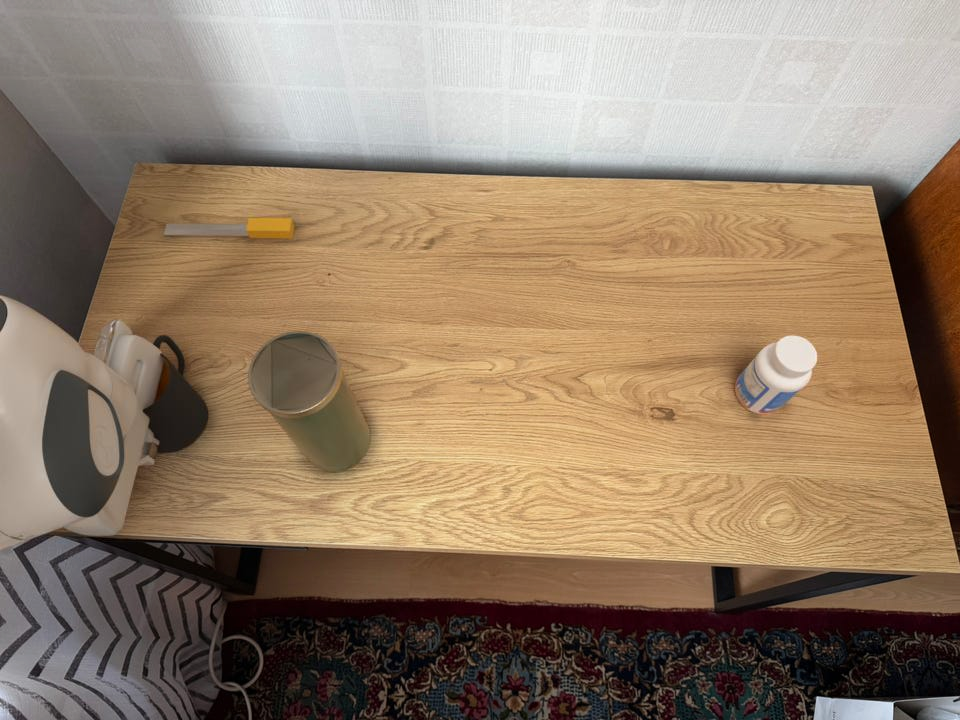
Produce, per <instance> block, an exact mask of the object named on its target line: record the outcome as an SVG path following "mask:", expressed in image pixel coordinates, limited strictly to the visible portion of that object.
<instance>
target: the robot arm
mask: <svg viewBox="0 0 960 720" xmlns="http://www.w3.org/2000/svg"><path fill="white" fill-rule="evenodd" d="M98 337H99V339H98V340H97V342H96V345H95V347H94V351H93V354H92V353H90V352H87V351H84V350H83V348H82V347H81V345H80V344H79V343H78V341H77V340H75V338H74V337H73V336H72V335H70V334H69V333H68V332H66V331H65V330H64V329H63V328H61V327H59V325H57V324H55V323H54V322H53V321H52V320H50V319H48V318H47V316H44V315H43V314H41V313H40V312H38V311H36V310H35V309H33V308H31V307H30V306H28V305H26V304H24V303H22V302H20V301H18V300H17V299H14V298H11V297H9V296H5V295H2V294H0V551H3V550H5V549H8V548H10V547H13V546H15V545H18V544H21V543H24V542H27V541H30V540H32V539H35V538H37V537H41V536H43V535H46V534H48V533H51V532H55V531H57V530H60V529H62V528H64V529H66V530H68V531H70V532H72V533H75V534H78V535H82V536H90V537H112V536H115V535H117V534H118V533H119V532H120V531H121V530H122V529H123V527H124V524H125V520H126V516H127V512H128V508H129V505H130V500H131V495H132V492H133V488H134V484H135V480H136V476H137V473H138V468H139V467H140V466H154V465H155V461H156V458H157V453H158V452H157V449H158V445H159V440H157V439H156V438H154V435H153V432H152V431H151V430H150V429H149V428H148V425H149V421H150V419H149V417H148V416H147V415H146V414H144V413H143V409H145V408H147V407H149V406H151V405H152V404H154V401H155V397H156V393H157V389H158V385H159V381H160V377H161V373H162V369H163V366H164V359H163V358H162V357H161V355H160V353H162V354H163V352H162V350H161V349H160V350H159V349H158V348H157V347H156V346H154V345H153V344H154V343H152V342H150V341H149V340H147V339H145V337H142V336H140V335H136V334H133V331H132V329H131V327H129V326H128V325H127V324H126V323H125V322H124V321H122V320H120V319H112V320H110V321H109V322H108V323H107V325H103V327H102V328H101V331H100V333H99V336H98Z"/></svg>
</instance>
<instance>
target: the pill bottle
mask: <svg viewBox="0 0 960 720" xmlns="http://www.w3.org/2000/svg"><path fill="white" fill-rule="evenodd" d="M817 362H818V353H817V350H816V348H815V346H814V345H813V344H812V342H811V341H809V340H808V339H806V338H804V337H803V336H799V335H786V336H783V337H781V338H780V339H779V340H778V341H777V342H772V343H769V344H767V345H766V346H764V347H763V348H762V349H761V350H760V351H759V352H758V353H757V355H755V357H753V359H752V361H750V363H749V364H747V366H746V368H745V369H744V370H743V371H742V372H741V373H740V374H739V375H738V377H737V379H736V381H735V386H734V392H735V396H736V398H737V400H738V401H739V403H740V404H741V406H743V407H744V408H745V409H747V410H748V411H750V412H752V413H754V414H757V415H769V414H772V413H775V412H777V411H778V410H780V409H781V408H782V407H783V406H785V404H787V403H788V402H789V401H790V400H791V399H792V398H793V397H794V396H796V395H797V393H799V392H800V391H802V389H803V388H805V386H807V384H808V383H809V382H810V380H811V378H812V375H813V369H814V367H815V366H816V365H817Z"/></svg>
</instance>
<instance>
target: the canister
mask: <svg viewBox="0 0 960 720" xmlns="http://www.w3.org/2000/svg"><path fill="white" fill-rule="evenodd" d="M249 364H250V365H249V368H248V372H247V382H248V383H247V384H248V389H249V390H250V393H251V395H252V396H253V399H255V401H256V402H257V403H258V404H259V405H260V407H261V408H263V409H264V410H265V411H266V412H268V413H269V414H270V415H271V416H272V418H273V419H274V420H275V421H276V422H277V424H278V425H279V426H280V427H281V428H282V430H283V431H284V432H285V433H286V434H287V435H288V438H290V439H291V440H292V441H293V443H294V444H295V445H296V446H297V448H298V449H299V450H300V451H301V452H302V454H303V455H304V457H306V459H307V460H308V461H309V462H310V463H311V464H312V465H313V466H314V467H316V468H317V469H319V470H321V471H324V472H328V473H340V472H344V471H347V470H350V469H352V468H354V467H355V466H357V465H358V464H360V462H361V461H362V460H363V459H364V458H365V456H366V455H367V454H368V451H369V449H370V445H371V436H372V435H371V429H370V426H369V424H368V423H367V421H366V418H365V416H364V413H363V411H362V409H361V408H360V405H359V403H358V400H357V398H356V396H355V394H354V391H353V389H352V387H351V386H350V385H351V384H350V383H349V382H348V381H349V380H348V379H347V376H346V375H345V372H344V370H343V365H342V361H341V359H340V356H339V354H338V352H337V350H336V348H335V347H334V345H333V344H332V343H331V342H330V341H329V340H328V339H326V338H325V337H324V336H322V335H319V334H318V333H316V332H315V333H314V332H311V331H306V330H296V331H295V330H294V331H288V332H284V333H281V334H278V335H276V336H274V337H272V338H271V339H270V340H268V341H266V342H265V343H264V344H263V345H261V347H259V349H258V350H257V351H256V353H255V354H254V356H253V358H252V359H251V362H250V363H249Z"/></svg>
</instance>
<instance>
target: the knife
mask: <svg viewBox="0 0 960 720" xmlns="http://www.w3.org/2000/svg"><path fill="white" fill-rule="evenodd" d="M295 227H296V225H295V223H294V221H293V218H292V217H248V218H247V223H180V222H179V223H177V222H176V223H173V222H170V223H166V225H165V228H164V232H163V236H164V237H166V238H237V239H239V238H242V239H245V238H247V239H282V240H283V239H287V240H288V239H289V240H290V239H291V240H292V239H294V234H295Z"/></svg>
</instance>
